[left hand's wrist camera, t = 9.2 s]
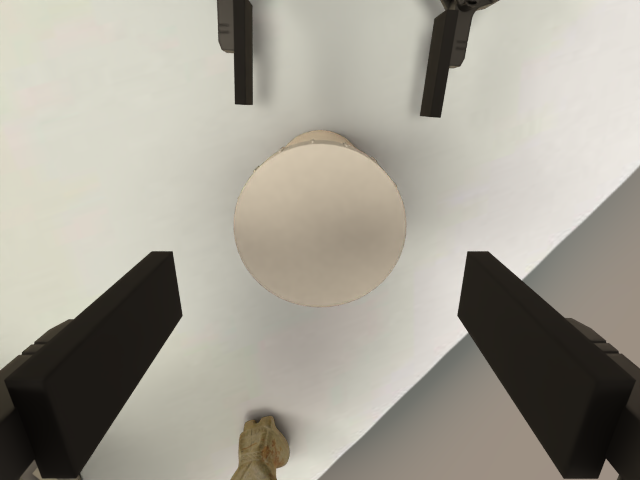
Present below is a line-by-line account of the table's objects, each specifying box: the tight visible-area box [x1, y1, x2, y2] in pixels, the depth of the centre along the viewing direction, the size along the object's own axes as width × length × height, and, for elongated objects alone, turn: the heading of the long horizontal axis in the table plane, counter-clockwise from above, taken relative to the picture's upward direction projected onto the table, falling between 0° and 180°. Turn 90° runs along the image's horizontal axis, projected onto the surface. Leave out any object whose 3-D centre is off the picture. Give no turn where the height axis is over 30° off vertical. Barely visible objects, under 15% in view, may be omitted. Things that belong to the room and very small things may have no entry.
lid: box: [234, 139, 406, 307], centre depth 20 cm, size 9×9×2 cm
